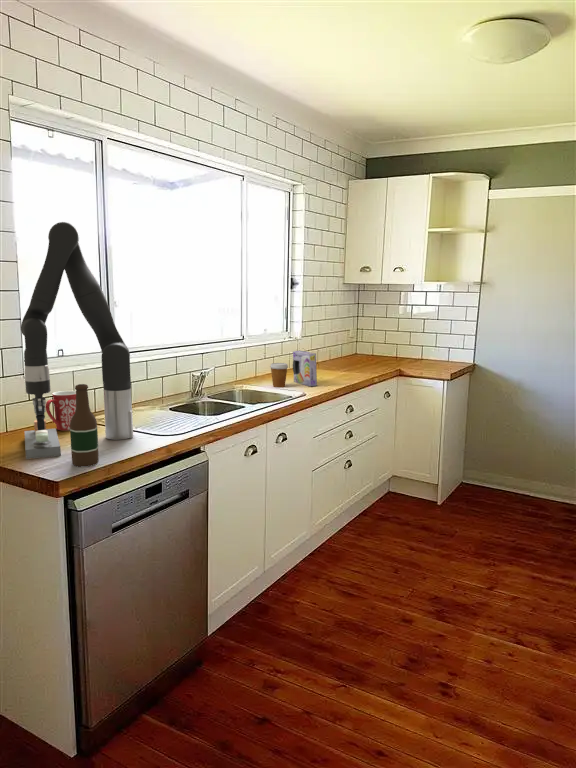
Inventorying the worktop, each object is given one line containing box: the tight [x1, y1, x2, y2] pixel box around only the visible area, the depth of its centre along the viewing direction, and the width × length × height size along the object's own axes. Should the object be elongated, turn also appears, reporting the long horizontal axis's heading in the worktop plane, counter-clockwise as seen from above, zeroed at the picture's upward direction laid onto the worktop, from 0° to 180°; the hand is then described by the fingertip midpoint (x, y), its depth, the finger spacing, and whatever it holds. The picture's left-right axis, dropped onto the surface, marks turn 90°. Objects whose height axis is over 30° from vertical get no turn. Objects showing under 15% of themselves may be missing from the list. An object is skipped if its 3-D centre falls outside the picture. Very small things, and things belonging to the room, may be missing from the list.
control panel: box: [24, 428, 62, 460], centre depth 194 cm, size 10×26×3 cm, turn 24°
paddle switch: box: [33, 419, 47, 432], centre depth 202 cm, size 4×3×3 cm
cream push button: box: [35, 430, 48, 434], centre depth 188 cm, size 4×4×2 cm
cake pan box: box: [292, 350, 318, 387], centre depth 318 cm, size 19×5×18 cm, turn 28°
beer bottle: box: [69, 383, 100, 468], centre depth 175 cm, size 8×8×24 cm
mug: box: [45, 390, 76, 431], centre depth 217 cm, size 13×9×14 cm
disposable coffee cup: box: [269, 362, 289, 388], centre depth 311 cm, size 10×10×12 cm
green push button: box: [36, 433, 49, 442], centre depth 184 cm, size 4×4×2 cm
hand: (41, 429), depth 198 cm, fingers closed
